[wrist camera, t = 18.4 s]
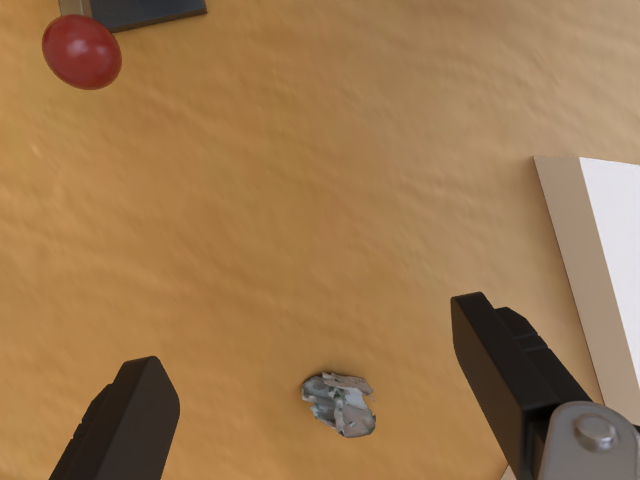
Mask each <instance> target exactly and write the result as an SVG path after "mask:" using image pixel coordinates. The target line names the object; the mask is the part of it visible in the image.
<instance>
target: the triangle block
mask: <svg viewBox="0 0 640 480" xmlns="http://www.w3.org/2000/svg"><path fill="white" fill-rule="evenodd" d="M533 158H534V161H535V165H536V168H537V172H538V175H539V179H540V182H541V186H542V189H543V193H544V196H545V199H546V203H547V206H548V210H549V213H550V217H551V220H552V224H553V227H554V231H555V234H556V237H557V241H558V244H559V248H560V251H561V255H562V258H563V262H564V265H565V269H566V272H567V275H568V279H569V282H570V286H571V289H572V293H573V296H574V300H575V303H576V307H577V310H578V313H579V317H580V320H581V324H582V327H583V331H584V334H585V338H586V341H587V345H588V348H589V352H590V355H591V358H592V362H593V365H594V369H595V372H596V376H597V379H598V383H599V386H600V389H601V393H602V396H603V400H604V403H605V406H606V407H608V408H610V409H613V410H614V411H616V412H618V413H619V414H621V415H622V416H623V417H625V418H626V419H627V420H628V421H629V422H630V423H631V424H634V425H638V426H640V165H633V164H626V163H619V162H612V161H605V160H597V159H590V158H583V157H546V156H533Z"/></svg>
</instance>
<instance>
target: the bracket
mask: <svg viewBox="0 0 640 480" xmlns="http://www.w3.org/2000/svg"><path fill="white" fill-rule="evenodd" d="M89 1H90V6H91V12H92V18H93V19H94V20H96V21H98V22H100V23H101V24H102V25H104V26H105V27H106V28H107V29H108V30H109V31H110V32H111V33H115V32H120V31H124V30H129V29H134V28H139V27H143V26H148V25H153V24H157V23H162V22H167V21H172V20H176V19H181V18H186V17H190V16H195V15H200V14H205V13H207V9H206V5H205V1H204V0H89Z"/></svg>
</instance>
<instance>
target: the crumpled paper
mask: <svg viewBox="0 0 640 480" xmlns="http://www.w3.org/2000/svg"><path fill="white" fill-rule="evenodd" d="M321 375H323V377H320V376H315V377H312V378H311V379H310V380H307V381H306V382H305V383H304V384H303V387H302V390H301V397H302V399H303V400H305V401H308V402H311V403H314V404H315V405H312V406H311V407H310V409H311V410H313V414H314V415H315V417H316V419H319V420H320V421H322V422H323V423H325V424H326V425H328V426H329V427H332V428H334V429H336V430H337V432H338V434H341V435H342V436H344V437H346V438H354V437H361V436H365V435H370V434H371V433H372V432H373V430H374V429H375V421H376V416H372V412H371V410H369V408H368V407H367V406H366V404H365V402H364V400H363V398H362V394H364V395H367V396H368V395H370V394H371V393H372V392H373V389H372V388H371V387H370V386H369V385H368V384H367V382H366V381H365V380H364V379H362V378H358V377H352V376H345V377H344V376H341V375H339V376H338V375H336V374H334V373H331V375H328V374H326V373H325V372H323V371H322V372H321ZM369 397H370V398H371V399H372V400H373V401H374V399H373V397H372V396H369ZM374 402H375V401H374Z"/></svg>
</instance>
